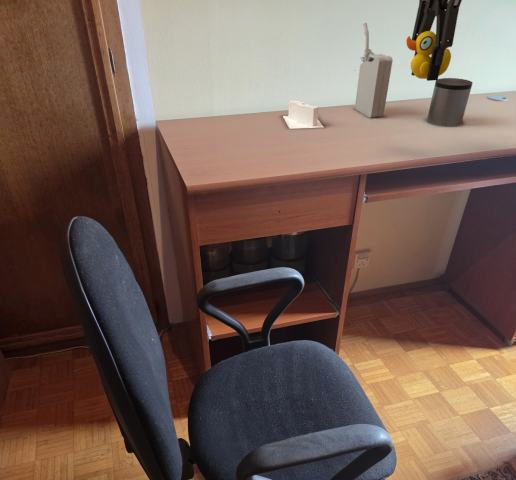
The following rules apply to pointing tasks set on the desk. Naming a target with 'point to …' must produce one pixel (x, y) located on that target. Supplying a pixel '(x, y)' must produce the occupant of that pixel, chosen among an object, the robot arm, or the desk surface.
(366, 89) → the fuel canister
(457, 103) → the jar
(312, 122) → the napkin holder
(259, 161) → the desk surface
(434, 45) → the duckling
